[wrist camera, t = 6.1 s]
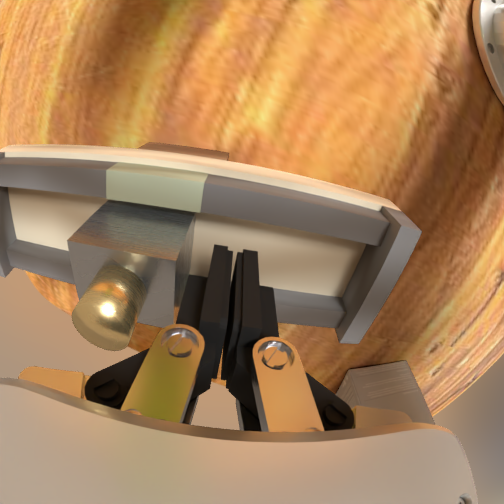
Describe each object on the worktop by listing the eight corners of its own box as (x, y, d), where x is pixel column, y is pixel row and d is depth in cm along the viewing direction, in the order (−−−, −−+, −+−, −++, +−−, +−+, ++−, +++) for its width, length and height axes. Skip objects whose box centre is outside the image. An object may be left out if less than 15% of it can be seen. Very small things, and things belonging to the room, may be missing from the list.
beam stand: (45, 131, 14) (-30, 164, 8) (362, 176, 16) (422, 231, 10) (51, 218, 18) (-6, 273, 11) (329, 265, 20) (358, 344, 14)
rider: (112, 196, 11) (36, 275, 6) (196, 208, 12) (159, 305, 7) (115, 254, 13) (61, 344, 8) (190, 268, 13) (163, 372, 8)
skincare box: (332, 394, 31) (352, 508, 17) (349, 362, 27) (381, 499, 14) (390, 386, 31) (418, 487, 18) (412, 354, 27) (454, 470, 14)
